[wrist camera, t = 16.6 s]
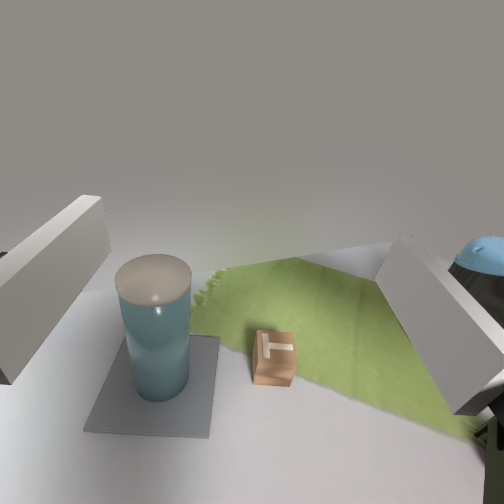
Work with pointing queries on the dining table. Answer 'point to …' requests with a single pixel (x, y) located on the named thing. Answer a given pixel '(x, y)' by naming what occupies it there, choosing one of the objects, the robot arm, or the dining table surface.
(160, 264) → the jar
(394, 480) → the dining table surface
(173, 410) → the mat
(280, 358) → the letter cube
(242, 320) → the dining table surface
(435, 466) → the dining table surface
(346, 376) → the dining table surface
